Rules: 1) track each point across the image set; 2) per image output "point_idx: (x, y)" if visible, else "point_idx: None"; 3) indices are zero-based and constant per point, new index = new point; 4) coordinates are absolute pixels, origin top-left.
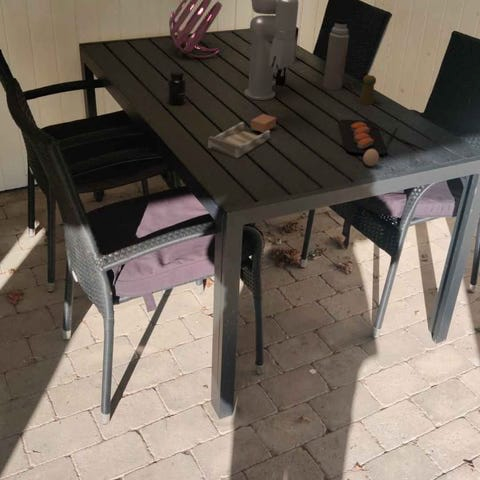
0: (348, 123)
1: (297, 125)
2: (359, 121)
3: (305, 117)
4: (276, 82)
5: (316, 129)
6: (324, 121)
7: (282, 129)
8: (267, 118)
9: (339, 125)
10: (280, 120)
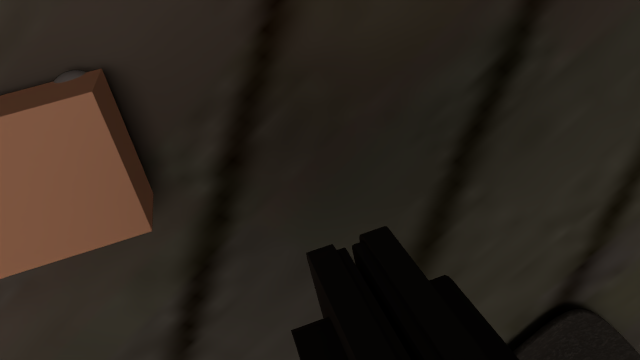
0: (576, 339)
1: (344, 215)
2: (626, 355)
3: (499, 138)
4: (294, 338)
5: None
6: (527, 245)
7: (195, 219)
8: (56, 206)
9: None
10: (310, 81)
